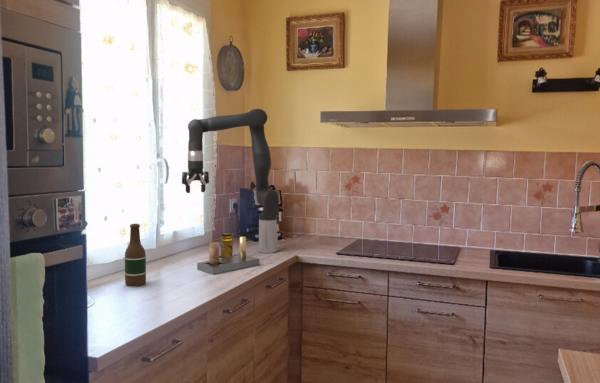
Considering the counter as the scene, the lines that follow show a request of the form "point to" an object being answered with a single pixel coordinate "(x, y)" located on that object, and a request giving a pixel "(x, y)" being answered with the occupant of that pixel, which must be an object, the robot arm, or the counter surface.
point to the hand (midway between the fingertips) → (195, 192)
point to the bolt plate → (230, 261)
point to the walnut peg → (213, 254)
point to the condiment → (226, 245)
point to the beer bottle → (135, 259)
